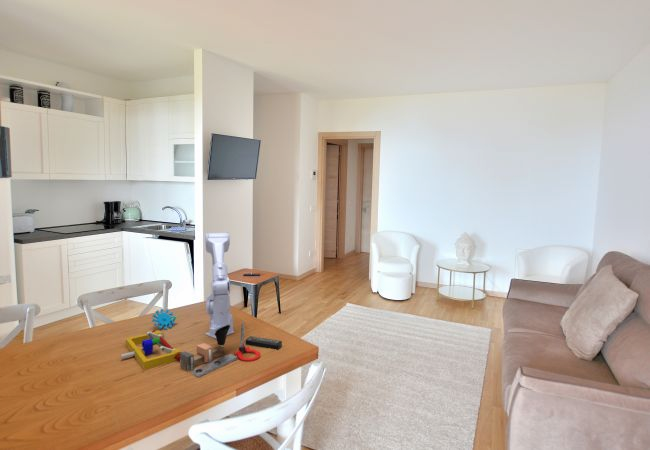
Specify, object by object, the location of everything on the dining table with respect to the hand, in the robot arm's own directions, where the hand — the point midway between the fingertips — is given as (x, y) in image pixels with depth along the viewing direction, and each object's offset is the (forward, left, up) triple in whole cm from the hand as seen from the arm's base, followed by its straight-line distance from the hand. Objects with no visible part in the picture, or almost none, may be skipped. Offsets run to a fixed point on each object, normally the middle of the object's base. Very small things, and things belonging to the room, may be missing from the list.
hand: (221, 344), depth 153 cm
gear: (-1, -40, -4) cm, 40 cm away
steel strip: (+8, +7, -3) cm, 11 cm away
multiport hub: (-15, +8, -4) cm, 18 cm away
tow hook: (-5, +10, -4) cm, 12 cm away
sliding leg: (+8, 0, -3) cm, 8 cm away
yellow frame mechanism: (+18, -22, -4) cm, 29 cm away
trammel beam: (+8, 0, -3) cm, 9 cm away
